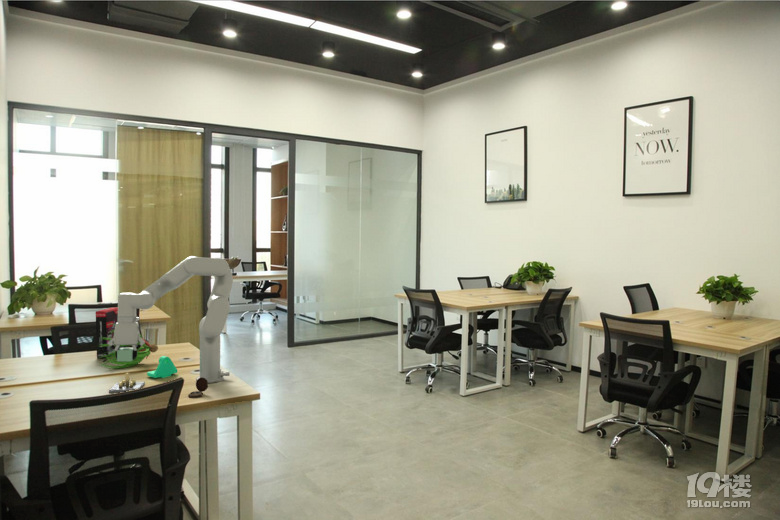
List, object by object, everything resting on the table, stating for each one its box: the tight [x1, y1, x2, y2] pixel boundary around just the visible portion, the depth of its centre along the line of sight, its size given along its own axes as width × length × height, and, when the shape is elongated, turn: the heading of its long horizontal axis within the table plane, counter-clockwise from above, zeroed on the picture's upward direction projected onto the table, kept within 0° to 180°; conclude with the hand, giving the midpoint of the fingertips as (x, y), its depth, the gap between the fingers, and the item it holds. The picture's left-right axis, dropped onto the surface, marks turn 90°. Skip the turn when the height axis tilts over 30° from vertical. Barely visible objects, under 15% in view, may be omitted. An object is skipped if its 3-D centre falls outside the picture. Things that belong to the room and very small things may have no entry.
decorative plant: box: [98, 324, 159, 370], centre depth 271 cm, size 26×25×30 cm
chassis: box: [108, 372, 146, 394], centre depth 231 cm, size 12×12×7 cm
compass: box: [187, 377, 209, 399], centre depth 222 cm, size 8×8×7 cm
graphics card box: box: [95, 307, 124, 360], centre depth 294 cm, size 17×7×27 cm, turn 179°
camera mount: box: [146, 355, 178, 379], centre depth 253 cm, size 12×8×10 cm, turn 148°
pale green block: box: [117, 347, 133, 362], centre depth 231 cm, size 6×6×5 cm
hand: (126, 358), depth 231 cm, fingers closed on pale green block, 6 cm apart
